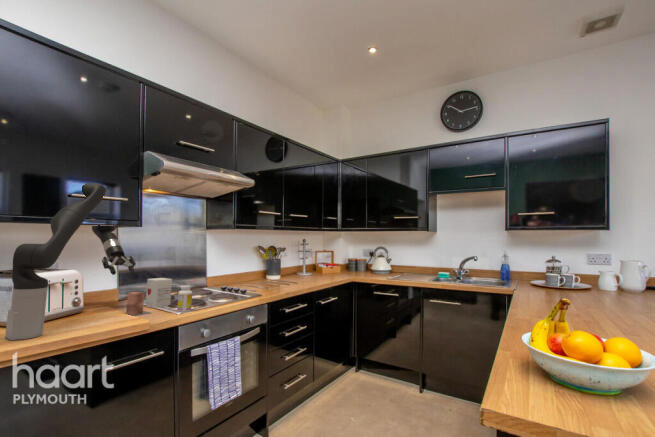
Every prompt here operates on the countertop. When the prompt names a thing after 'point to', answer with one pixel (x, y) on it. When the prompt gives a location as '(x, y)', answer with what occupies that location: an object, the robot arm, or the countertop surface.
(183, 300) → the supplement bottle
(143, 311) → the slate card
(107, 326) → the countertop surface
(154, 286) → the supplement box
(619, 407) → the countertop surface
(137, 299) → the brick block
